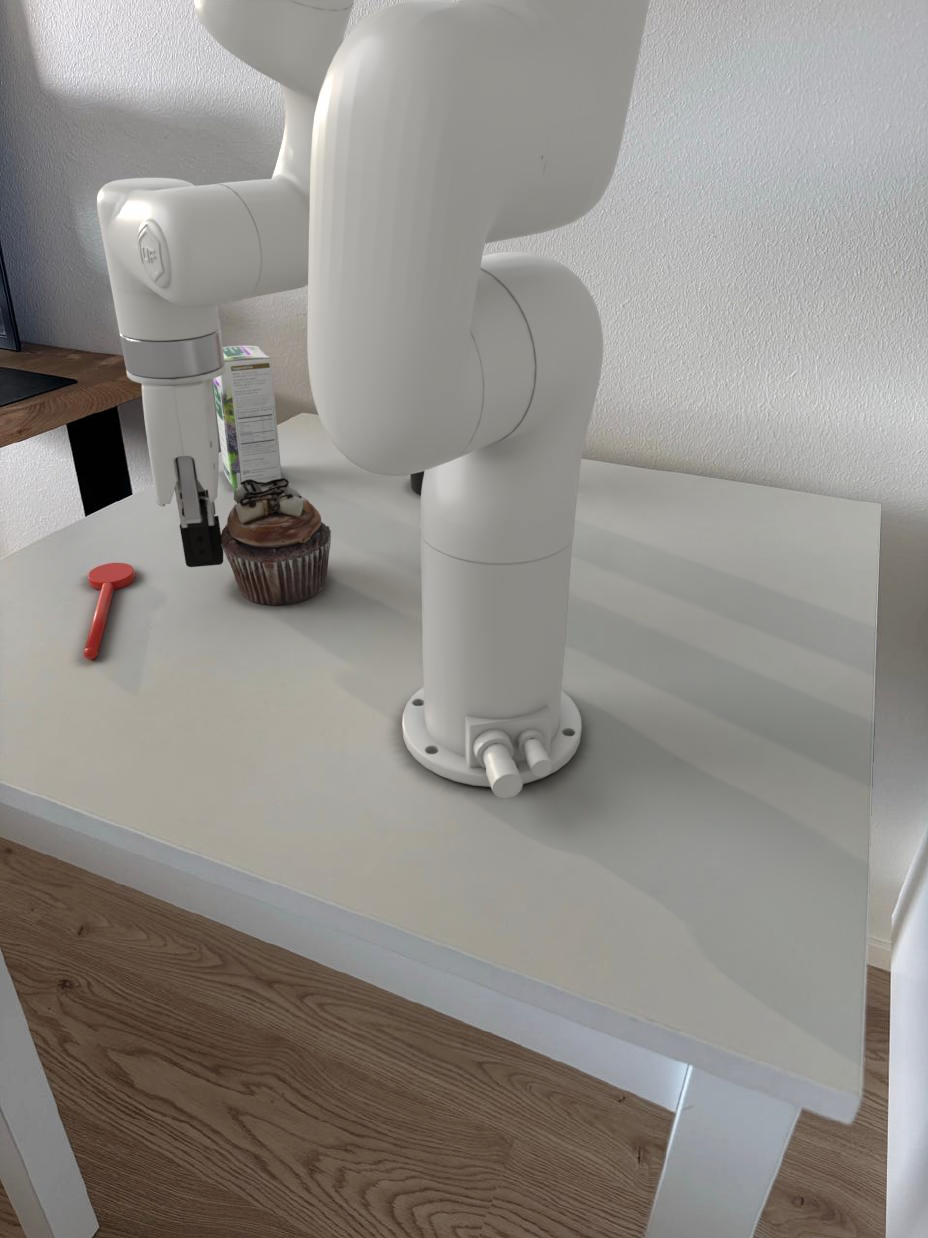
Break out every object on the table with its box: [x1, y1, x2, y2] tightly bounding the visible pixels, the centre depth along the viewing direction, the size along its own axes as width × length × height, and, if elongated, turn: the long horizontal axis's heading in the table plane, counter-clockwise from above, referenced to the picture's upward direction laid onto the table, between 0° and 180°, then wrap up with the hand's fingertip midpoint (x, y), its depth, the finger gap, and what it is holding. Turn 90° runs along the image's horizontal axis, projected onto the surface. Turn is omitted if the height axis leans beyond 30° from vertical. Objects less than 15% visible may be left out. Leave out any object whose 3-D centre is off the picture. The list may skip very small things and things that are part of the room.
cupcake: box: [221, 477, 332, 607], centre depth 80 cm, size 10×10×10 cm
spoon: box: [83, 562, 136, 660], centre depth 78 cm, size 16×4×1 cm, turn 12°
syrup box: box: [212, 345, 283, 490], centre depth 101 cm, size 6×6×14 cm
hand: (205, 561), depth 80 cm, fingers closed
